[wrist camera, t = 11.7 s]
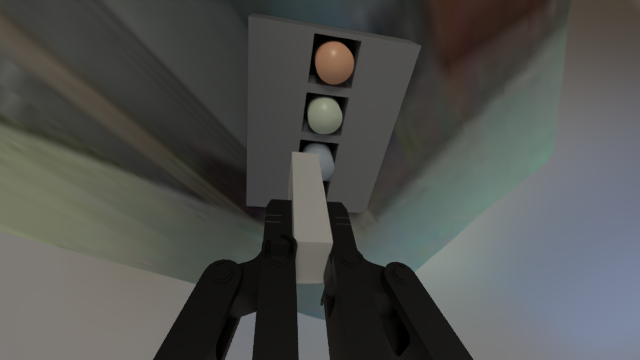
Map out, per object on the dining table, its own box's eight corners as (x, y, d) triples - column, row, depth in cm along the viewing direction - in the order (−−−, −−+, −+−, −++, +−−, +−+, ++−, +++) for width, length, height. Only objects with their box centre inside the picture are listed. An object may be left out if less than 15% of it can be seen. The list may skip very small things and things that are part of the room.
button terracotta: (311, 72, 32) (313, 81, 30) (316, 35, 30) (319, 40, 27) (344, 77, 33) (349, 86, 30) (351, 41, 31) (357, 47, 28)
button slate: (299, 165, 38) (300, 180, 35) (303, 139, 36) (304, 153, 33) (328, 167, 39) (331, 182, 36) (333, 142, 36) (337, 156, 33)
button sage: (304, 120, 36) (306, 132, 33) (309, 89, 34) (310, 99, 31) (334, 123, 36) (338, 136, 34) (340, 94, 34) (345, 104, 31)
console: (249, 189, 43) (246, 205, 40) (253, 12, 30) (248, 16, 26) (359, 197, 46) (365, 213, 43) (408, 39, 33) (421, 45, 29)
